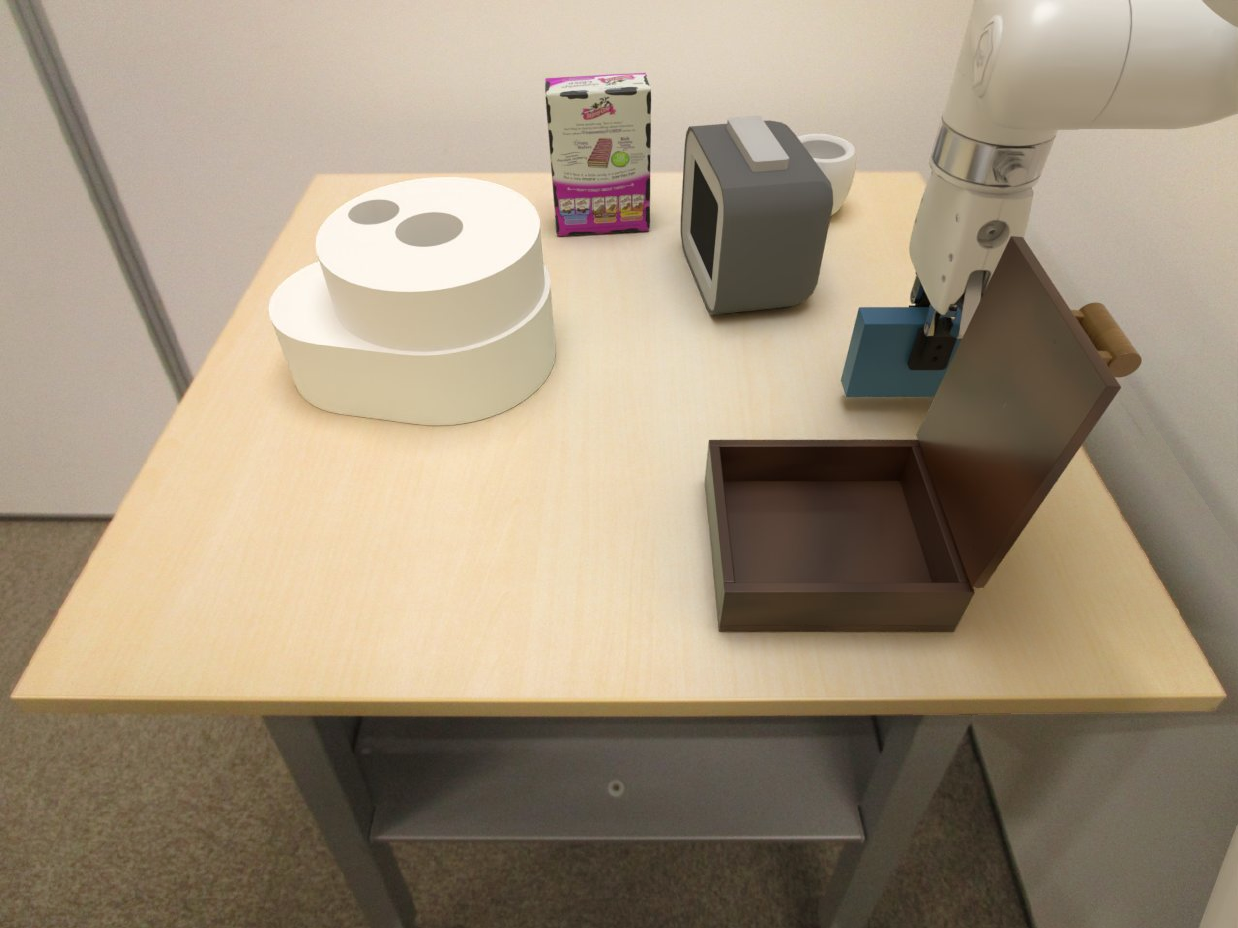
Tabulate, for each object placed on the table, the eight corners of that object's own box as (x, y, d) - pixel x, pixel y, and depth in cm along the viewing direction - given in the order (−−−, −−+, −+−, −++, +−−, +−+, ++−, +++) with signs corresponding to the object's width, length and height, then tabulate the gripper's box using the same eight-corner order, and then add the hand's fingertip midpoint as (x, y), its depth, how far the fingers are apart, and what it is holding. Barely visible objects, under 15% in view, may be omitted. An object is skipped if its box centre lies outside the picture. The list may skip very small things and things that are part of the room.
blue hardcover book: (845, 397, 72) (864, 324, 66) (840, 380, 74) (858, 306, 68) (981, 397, 72) (1012, 323, 66) (973, 380, 74) (1002, 306, 68)
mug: (773, 191, 102) (782, 129, 96) (841, 193, 102) (854, 131, 96) (780, 241, 94) (790, 176, 88) (854, 243, 93) (869, 179, 88)
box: (718, 631, 57) (724, 592, 54) (704, 480, 67) (708, 439, 64) (954, 632, 57) (975, 592, 54) (904, 480, 67) (919, 439, 64)
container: (306, 311, 85) (264, 188, 75) (546, 289, 87) (535, 167, 77) (281, 443, 71) (225, 313, 61) (566, 412, 73) (556, 282, 64)
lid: (1106, 386, 41) (1205, 393, 41) (1010, 235, 51) (1090, 242, 51) (971, 588, 53) (1048, 592, 54) (916, 434, 64) (980, 438, 64)
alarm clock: (679, 242, 94) (686, 106, 82) (773, 234, 95) (793, 98, 84) (713, 326, 82) (728, 180, 71) (820, 314, 84) (851, 170, 72)
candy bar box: (645, 211, 99) (648, 70, 87) (650, 232, 95) (653, 88, 84) (553, 216, 98) (543, 75, 86) (555, 237, 95) (545, 93, 83)
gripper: (1089, 206, 51) (994, 420, 65) (1006, 102, 62) (939, 302, 76) (970, 206, 51) (899, 420, 65) (908, 102, 62) (858, 302, 76)
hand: (921, 355), depth 70 cm, fingers closed on blue hardcover book, 2 cm apart
